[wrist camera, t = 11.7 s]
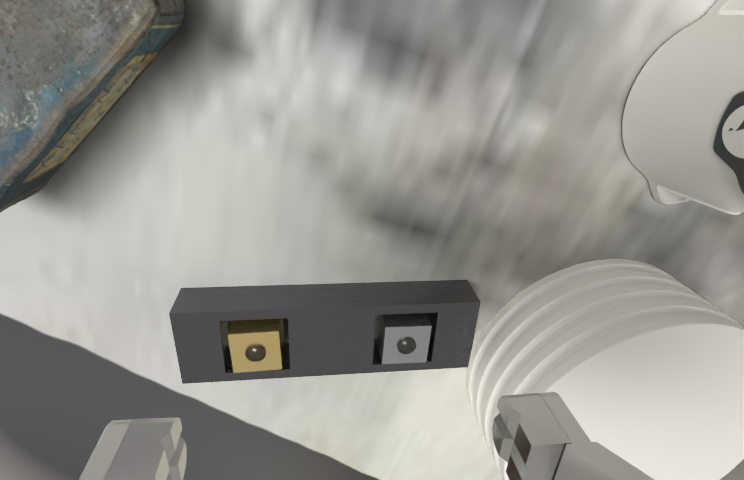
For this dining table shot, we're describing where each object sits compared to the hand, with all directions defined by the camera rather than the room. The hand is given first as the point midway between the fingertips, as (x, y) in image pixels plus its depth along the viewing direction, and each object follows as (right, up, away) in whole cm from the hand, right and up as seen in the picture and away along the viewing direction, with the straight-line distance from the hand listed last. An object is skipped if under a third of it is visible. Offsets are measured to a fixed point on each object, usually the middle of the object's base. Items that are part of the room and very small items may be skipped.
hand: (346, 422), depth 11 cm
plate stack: (+26, -10, +42) cm, 50 cm away
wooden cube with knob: (-11, -3, +33) cm, 35 cm away
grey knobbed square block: (+3, -3, +35) cm, 35 cm away
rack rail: (-4, -3, +34) cm, 34 cm away
